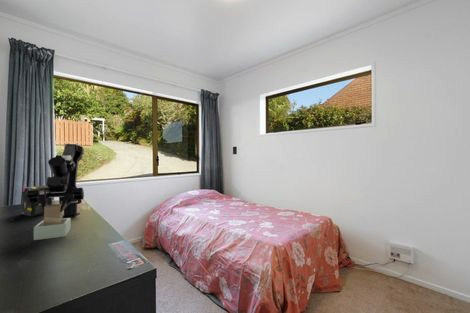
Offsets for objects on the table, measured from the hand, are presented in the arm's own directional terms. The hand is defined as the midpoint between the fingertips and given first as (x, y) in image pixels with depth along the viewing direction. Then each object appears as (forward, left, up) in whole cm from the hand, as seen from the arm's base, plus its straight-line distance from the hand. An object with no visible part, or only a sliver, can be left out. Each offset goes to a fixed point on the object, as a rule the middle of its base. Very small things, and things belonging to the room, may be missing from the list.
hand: (52, 212), depth 88 cm
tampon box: (-39, -28, -9) cm, 49 cm away
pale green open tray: (-1, 0, -9) cm, 9 cm away
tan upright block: (-1, 0, -7) cm, 7 cm away
